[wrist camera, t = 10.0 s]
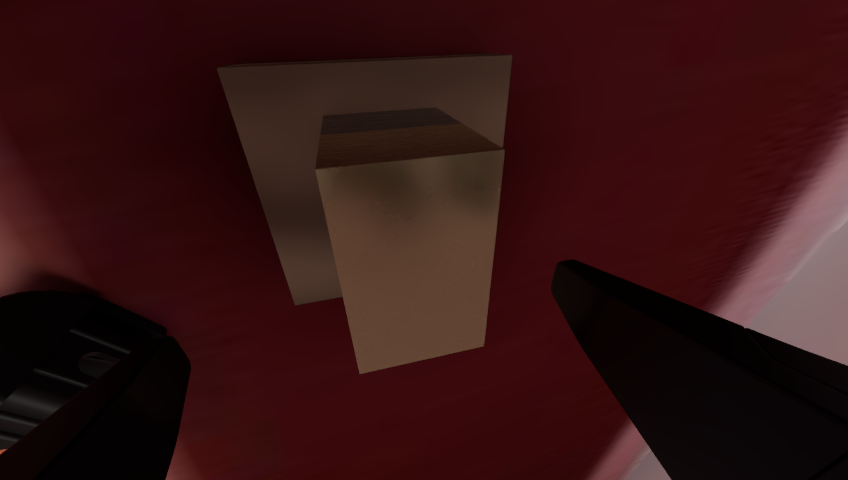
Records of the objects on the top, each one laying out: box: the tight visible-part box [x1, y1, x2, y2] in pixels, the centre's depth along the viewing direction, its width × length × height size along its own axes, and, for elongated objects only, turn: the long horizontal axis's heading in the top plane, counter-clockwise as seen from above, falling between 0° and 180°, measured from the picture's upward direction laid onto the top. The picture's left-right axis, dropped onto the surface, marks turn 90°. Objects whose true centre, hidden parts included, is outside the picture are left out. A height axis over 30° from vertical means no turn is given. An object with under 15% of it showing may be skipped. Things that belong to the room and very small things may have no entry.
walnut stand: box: [217, 54, 512, 305], centre depth 17 cm, size 12×12×2 cm
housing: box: [315, 107, 505, 374], centre depth 13 cm, size 5×8×7 cm, turn 2°
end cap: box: [0, 291, 167, 450], centre depth 16 cm, size 10×7×7 cm
